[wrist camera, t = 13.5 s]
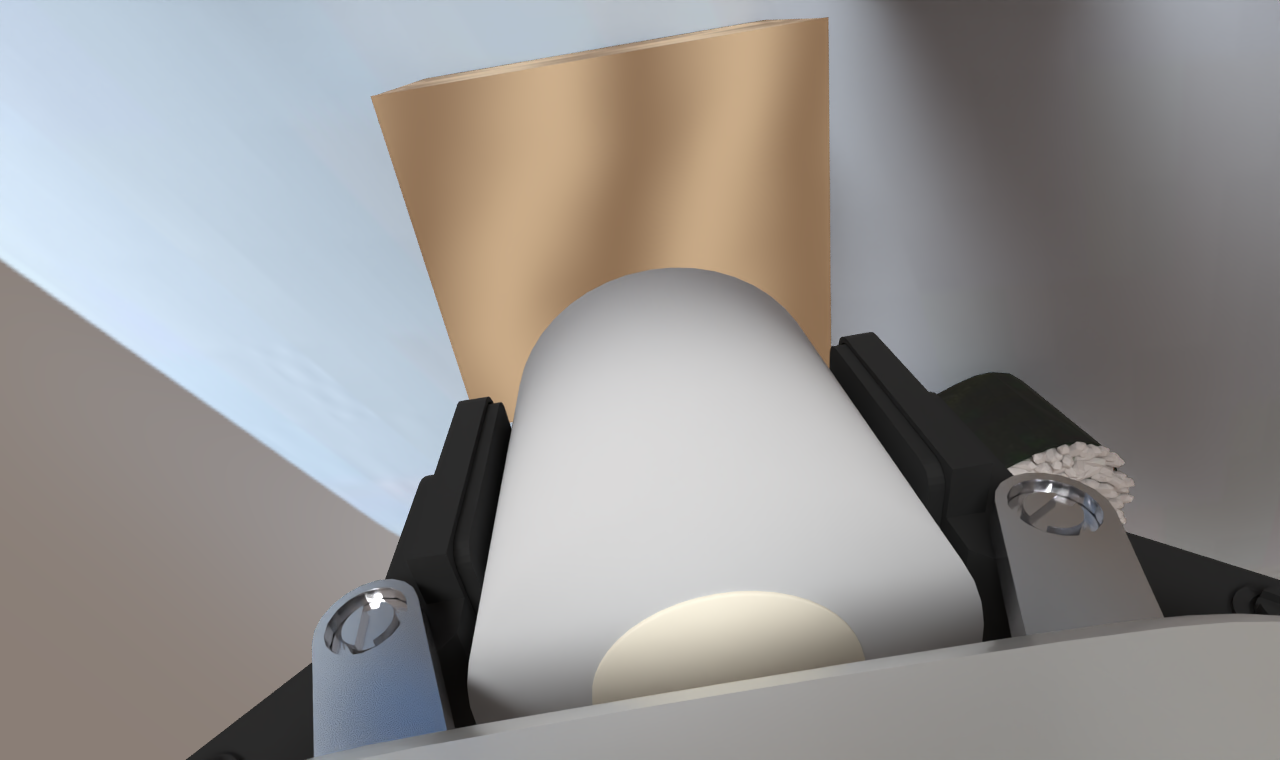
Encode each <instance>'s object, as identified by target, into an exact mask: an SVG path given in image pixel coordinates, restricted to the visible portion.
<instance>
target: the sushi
mask: <svg viewBox="0 0 1280 760" xmlns="http://www.w3.org/2000/svg"><path fill="white" fill-rule="evenodd" d="M937 395H938V396H939V397H941V398H942V400H943V401H944V402H945V403H946V404H947V405H948V406H949V407H950V408H951V409H952V410H953V411H954V412H955V413H956V414H957V416H958V417H959V418H960V419H961V420H962V421H963V422H964V423H965V424H966V425H967V426H968V427H969V428H970V429H971V430H972V432H973V433H974V434H975V435H976V436H977V437H978V438H979V439H980V440H981V441H982V442H983V443H984V444H985V445H986V446H987V448H988V449H989V450H990V451H991V452H992V453H993V454H994V455H995V456H996V457H997V458H998V459H999V460H1000V461H1001V462H1002V464H1003V465H1004V466H1005V467H1006V468H1007V469H1008V470H1009V471H1010V472H1011V473H1012V474H1013V475H1014V476H1015V475H1019V474H1024V473H1048V474H1055V475H1061V476H1064V477H1067V478H1070V479H1074V480H1077V481H1079V482H1081V483H1083V484H1085V485H1087V486H1089V487H1091V488H1093V489H1095V490H1096V491H1098V492H1099V493H1100V494H1101V495H1103V496H1104V497H1105V498H1106V499H1108V500H1109V502H1110V503H1111V505H1112V506H1113V508H1114V509H1115V510H1116V512H1117V514H1118V516H1119V519H1120V521H1121V523H1122V524H1126V518H1125V517H1124V516H1123V514H1124V512H1123V511H1121V510H1120V509H1122V508H1123V507H1124V503H1130V502H1131V501H1132V500H1133V499H1134V497H1133V496H1131V495H1129V494H1127V493H1129V487H1132V486H1135V484H1134V481H1133V479H1132V478H1127V475H1126V474H1124V473H1122V472H1120V471H1117V468H1119V467H1120V466H1122V465H1124V464H1125V462H1124V461H1123V459H1121V458H1120V457H1119V456H1118V454H1117V453H1114V452H1110V449H1109V448H1107V447H1104V446H1102V445H1101V444H1099V443H1098V442H1097V441H1096V440H1094V439H1093V438H1092V437H1091V436H1089V435H1088V434H1087V433H1086V432H1085V431H1083V430H1082V429H1081V428H1080V427H1078V426H1077V425H1076V424H1075V423H1073V422H1072V421H1071V420H1070V419H1068V418H1067V417H1066V416H1065V415H1064V414H1062V413H1061V412H1060V411H1059V410H1057V409H1056V408H1055V407H1054V406H1052V405H1051V404H1050V403H1049V402H1048V401H1046V400H1045V399H1044V398H1043V397H1041V396H1040V395H1039V394H1038V393H1036V392H1035V391H1034V390H1033V389H1032V388H1030V387H1029V386H1028V385H1027V384H1025V383H1024V382H1023V381H1021V380H1020V379H1018V378H1016V377H1014V376H1013V375H1011V374H1005V373H986V374H982V375H977V376H974V377H972V378H969V379H967V380H965V381H962V382H960V383H958V384H956V385H954V386H952V387H950V388H948V389H947V390H945V391H943V392H941V393H939V394H937ZM1116 467H1117V468H1116Z"/></svg>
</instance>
